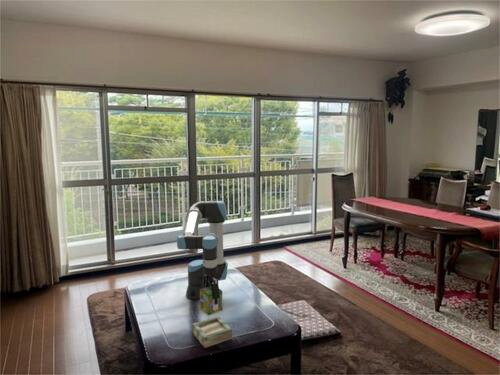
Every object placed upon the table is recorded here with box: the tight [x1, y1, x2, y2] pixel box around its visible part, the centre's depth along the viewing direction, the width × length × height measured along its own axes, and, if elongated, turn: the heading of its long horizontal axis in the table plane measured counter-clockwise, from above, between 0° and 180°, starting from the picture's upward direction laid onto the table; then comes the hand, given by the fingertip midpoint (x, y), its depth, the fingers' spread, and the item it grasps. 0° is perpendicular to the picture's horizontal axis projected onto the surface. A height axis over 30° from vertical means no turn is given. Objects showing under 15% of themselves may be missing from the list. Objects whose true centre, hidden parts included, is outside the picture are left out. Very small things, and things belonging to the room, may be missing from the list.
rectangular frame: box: [192, 315, 233, 349], centre depth 196 cm, size 16×16×6 cm
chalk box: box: [199, 285, 223, 316], centre depth 193 cm, size 9×9×15 cm
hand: (211, 305), depth 194 cm, fingers closed on chalk box, 9 cm apart
